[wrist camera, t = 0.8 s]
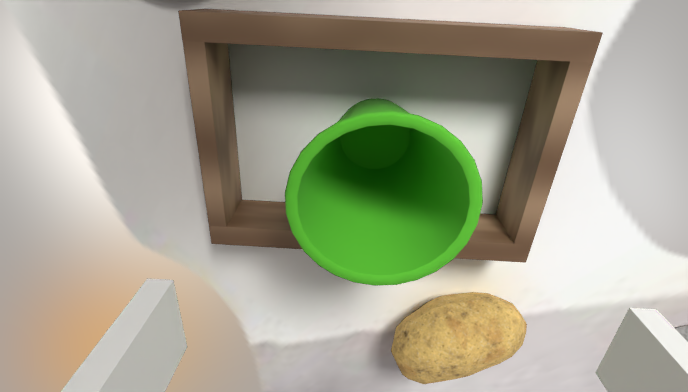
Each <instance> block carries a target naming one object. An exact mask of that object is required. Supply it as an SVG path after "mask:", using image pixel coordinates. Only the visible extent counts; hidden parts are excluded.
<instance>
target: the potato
mask: <svg viewBox="0 0 688 392" xmlns="http://www.w3.org/2000/svg"><path fill="white" fill-rule="evenodd" d="M526 325H527V324H526V322H525V320H524V319H523V317H522V315H521V314H520V313H519V311H518V310H517V309H516V307H515V306H514V305H513V304H512V303H510V302H508V301H506V300H503V299H501V298H499V297H496V296H493V295H491V294H488V293H475V292H471V293H461V294H453V295H446V296H440V297H438V298H436V299H434V300H431V301H429V302H427V303H426V304H424V305H423V306H422V307H420V308H419V309H418V310H416V311H415V312H413V313H412V314H410V315H409V316H407V317H406V318H404V319H403V321H402V322H401V323H400V324H399V325H398V326H397V327H396V330H395V335H394V340H393V344H392V348H391V352H392V354H393V356H394V358H395V361H396V363H397V365H398V367H399V369H400V371H401V373H402V375H404V376H405V377H407V378H408V379H410V380H413V381H416V382H419V383H422V384H428V383H434V382H441V381H446V380H452V379H457V378H461V377H466V376H470V375H472V374H474V373H477V372H479V371H481V370H484V369H486V368H489V367H491V366H494V365H497V364H499V363H501V362H503V361H505V360H507V359H508V358H510V357H512V356H513V355H514V354H515V352H516V351H517V350H518V349H519V348H520V347H521V346H522V344H523V341H524V338H525V334H526Z"/></svg>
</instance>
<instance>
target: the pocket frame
mask: <svg viewBox="0 0 688 392" xmlns="http://www.w3.org/2000/svg"><path fill="white" fill-rule="evenodd" d="M178 12H179V19H180V26H181V33H182V40H183V47H184V54H185V61H186V68H187V75H188V82H189V89H190V96H191V103H192V110H193V117H194V124H195V131H196V138H197V145H198V152H199V159H200V166H201V173H202V180H203V187H204V194H205V201H206V208H207V215H208V222H209V229H210V236H211V243H212V244H225V245H242V246H259V247H276V248H292V249H302V247H301V246H300V244H299V243H298V241H297V239H296V238H295V236H294V235H293V233H292V231H291V228H290V225H289V221H288V218H287V215H286V205H285V202H271V201H253V200H242V194H241V183H240V172H239V161H238V150H237V139H236V128H235V117H234V106H233V95H232V84H231V73H230V62H229V51H228V43H229V44H248V45H267V46H286V47H305V48H324V49H343V50H362V51H381V52H399V53H418V54H437V55H456V56H475V57H494V58H513V59H532V60H537V63H536V67H535V71H534V74H533V78H532V82H531V86H530V89H529V93H528V97H527V100H526V104H525V108H524V112H523V115H522V119H521V123H520V126H519V130H518V134H517V138H516V141H515V145H514V149H513V152H512V156H511V160H510V164H509V167H508V171H507V175H506V178H505V182H504V186H503V190H502V193H501V197H500V201H499V204H498V208H497V212H496V215H495V214H480V216H479V220H478V224H477V226H476V228H475V230H474V232H473V233H472V235H471V237H470V239H469V241H468V243H467V244H466V245H465V246H464V248H463V249H462V250H461V251H460V252H459V253H458V254H457V255H456V257H455V258H460V259H477V260H494V261H510V262H526V260H527V257H528V254H529V251H530V248H531V245H532V242H533V239H534V236H535V233H536V230H537V227H538V224H539V221H540V218H541V215H542V212H543V210H544V207H545V204H546V201H547V198H548V195H549V192H550V189H551V186H552V183H553V180H554V177H555V174H556V171H557V168H558V165H559V162H560V159H561V156H562V153H563V150H564V147H565V144H566V141H567V138H568V135H569V132H570V129H571V126H572V123H573V120H574V117H575V114H576V111H577V108H578V105H579V102H580V99H581V96H582V93H583V90H584V87H585V84H586V81H587V78H588V75H589V72H590V69H591V66H592V63H593V60H594V57H595V54H596V51H597V48H598V45H599V42H600V39H601V36H602V33H601V32H594V31H587V30H580V29H573V28H566V27H548V26H528V25H509V24H490V23H470V22H451V21H431V20H412V19H393V18H373V17H354V16H335V15H315V14H296V13H276V12H257V11H238V10H218V9H196V10H182V11H178Z"/></svg>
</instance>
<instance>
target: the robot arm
mask: <svg viewBox="0 0 688 392" xmlns="http://www.w3.org/2000/svg"><path fill="white" fill-rule="evenodd" d="M186 348H187V343H186V338H185V334H184V329H183V324H182V320H181V314H180V309H179V304H178V300H177V295H176V290H175V285H174V281H173V280H163V279H147V280H146V281H145V282H144V283H143V285H142V286H141V287H140V289H139V290H138V291H137V293H136V294H135V295H134V296H133V298H132V299H131V300H130V302H129V303H128V304H127V306H126V307H125V308H124V310H123V311H122V312H121V313H120V315H119V316H118V317H117V319H116V320H115V322H114V323H113V324H112V325H111V326H110V328H109V329H108V330H107V332H106V333H105V334H104V336H103V337H102V338H101V339H100V341H99V342H98V344H97V345H96V346H95V347H94V349H93V350H92V351H91V353H90V354H89V355H88V357H87V358H86V359H85V360H84V362H83V363H82V364H81V366H80V367H79V368H78V370H77V371H76V372H75V373H74V375H73V376H72V378H71V379H70V380H69V381H68V383H67V384H66V385H65V387H64V388H63V389H62V390H61V392H165V391H166V389H167V387H168V385H169V383H170V380H171V379H172V377H173V375H174V372H175V371H176V368H177V366H178V364H179V362H180V360H181V358H182V356H183V355H184V353H185V351H186ZM596 374H597V376H598V377H599V379H600V380H601V382H602V384H603V385H604V387H605V388H606V390H607V391H608V392H688V342H687V341H686V340H685V338H684V337H683V336H682V335H681V334H680V333H679V332H678V331H677V330H676V329H675V328H674V327H673V326H672V325H671V324H670V323H669V322H668V321H667V320H666V319H665V318H664V317H663V316H662V315H661V314H660V312H659V311H658V310H657V309H642V308H629V310H628V312H627V313H626V315H625V317H624V319H623V321H622V323H621V325H620V327H619V329H618V331H617V333H616V335H615V336H614V338H613V340H612V342H611V344H610V346H609V348H608V350H607V352H606V354H605V356H604V358H603V359H602V361H601V363H600V365H599V367H598V369H597V371H596Z"/></svg>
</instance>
